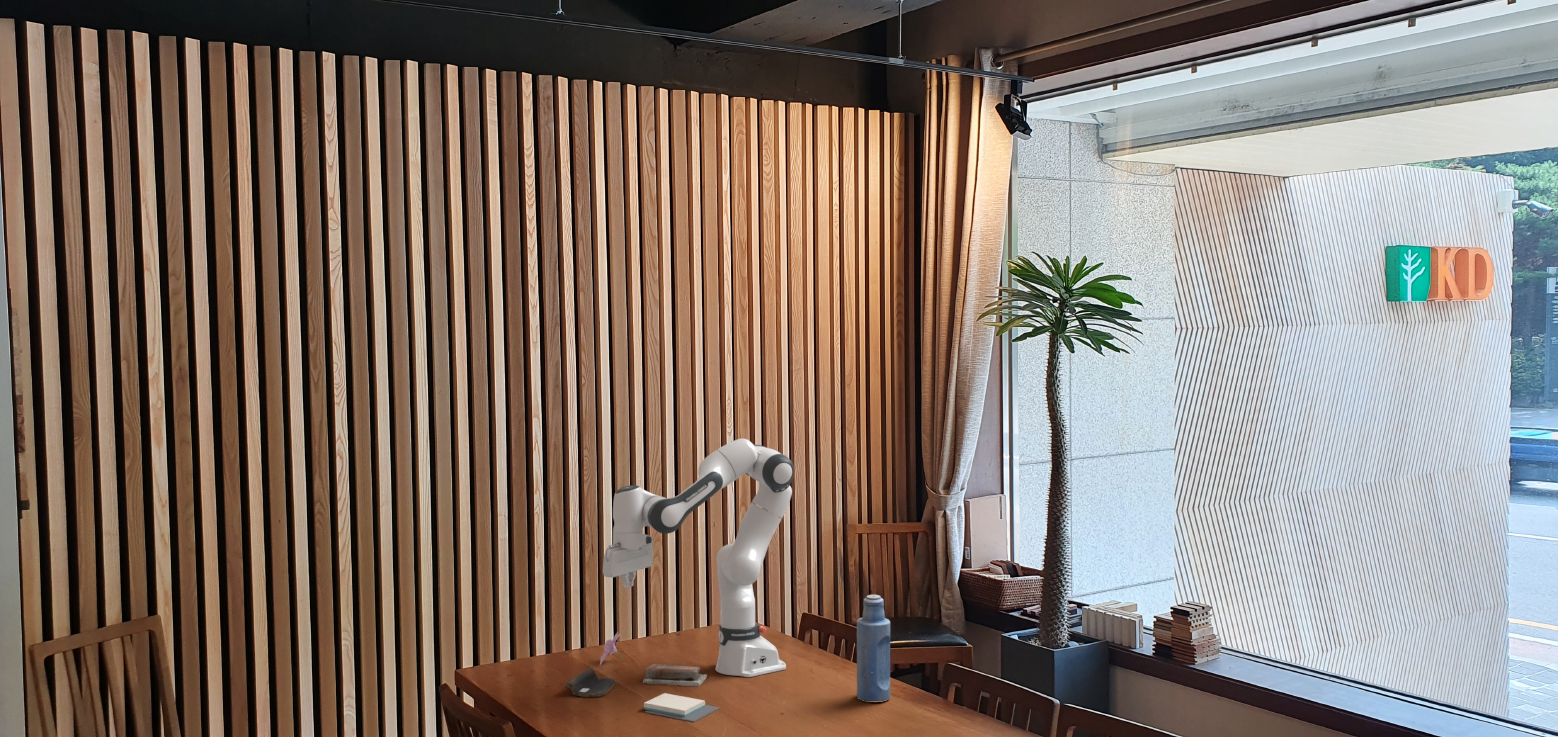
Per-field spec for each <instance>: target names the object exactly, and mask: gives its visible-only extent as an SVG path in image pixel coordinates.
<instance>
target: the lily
mask: <svg viewBox="0 0 1558 737" xmlns="http://www.w3.org/2000/svg"><path fill="white" fill-rule="evenodd" d="M621 634H622V633H619V631H617V632H616V634H615V635H614V637H613V638H612V639H608V640H606V641H605V643H604V646H603V648H604V652H603V654H602V655H601V657H600V659H599V661H600V663H599V666H601V665H602V663H604V660H605V658H606V657H607V656H609V655H613V654H614V653H616V654H618V655H619V657H620V658H621V660H622V661H623V660H624V659H623V656H622V655H621V654H620V652H618V651H617V640H618V638H619V637H620V635H621Z"/></svg>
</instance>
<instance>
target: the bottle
mask: <svg viewBox="0 0 1558 737" xmlns="http://www.w3.org/2000/svg"><path fill="white" fill-rule="evenodd" d="M862 604H863V610H862V617H859V618H858V619H857V620H856V698H857V699H858V698H859V699H860V700H859V699H858V700H859V701H861V700H864V701H884V700H887V699H889V698H890V699H891V621H890V620H889V618H886V616H885V615H886V614H885V609H884V605H885V604H884V598H882V597H881V595H878V594H869V595H866V597H865V598H863V603H862ZM890 699H889V700H890Z"/></svg>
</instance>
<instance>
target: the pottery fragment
mask: <svg viewBox="0 0 1558 737" xmlns="http://www.w3.org/2000/svg"><path fill="white" fill-rule="evenodd" d="M564 686H565V688H569V689H571V693H572V695H574V696H577V697H578V696H579V697H582V698H583V697H585V698H588V697H589V698H592V697H593V698H597V697H604V696H606V695H607V693H609V692H610V691H611V690H612V689H613V688H615V687H616V679H615V678H608V677H607V678H606V677H602V678H599V677H598V676H597V673H596V672H595V670H594V669H593V668H592V667H591V668H589V669H587V670H585V671H582V672H581V673H580V674H577V675H576V676H575V677H573V678H572V679H570V680H569V681H568V682H566V683H565V685H564ZM610 689H611V690H610ZM603 695H604V696H603Z"/></svg>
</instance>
